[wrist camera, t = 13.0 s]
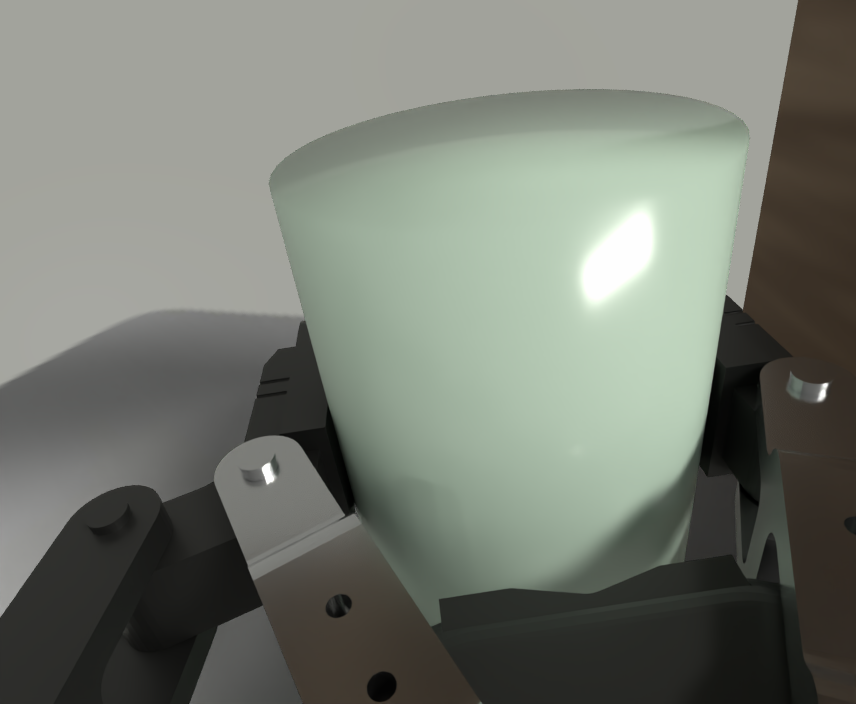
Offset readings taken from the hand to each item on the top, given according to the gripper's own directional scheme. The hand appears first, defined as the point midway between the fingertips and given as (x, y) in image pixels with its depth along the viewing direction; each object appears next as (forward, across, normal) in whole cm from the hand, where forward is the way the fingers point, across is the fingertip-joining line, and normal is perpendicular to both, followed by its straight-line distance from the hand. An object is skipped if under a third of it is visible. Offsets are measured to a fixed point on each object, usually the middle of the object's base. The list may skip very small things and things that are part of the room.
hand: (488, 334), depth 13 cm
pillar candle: (-2, 0, +6) cm, 7 cm away
